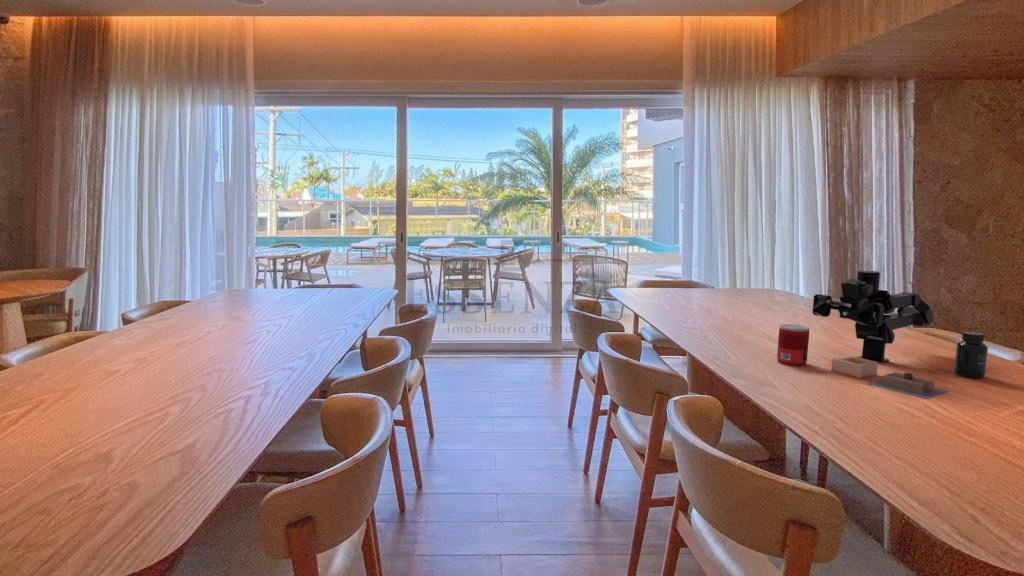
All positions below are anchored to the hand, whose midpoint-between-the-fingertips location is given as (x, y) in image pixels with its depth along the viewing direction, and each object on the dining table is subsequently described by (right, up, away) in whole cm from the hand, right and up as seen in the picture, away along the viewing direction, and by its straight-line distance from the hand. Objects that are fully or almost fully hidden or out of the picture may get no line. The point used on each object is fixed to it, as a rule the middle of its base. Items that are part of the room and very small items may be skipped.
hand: (829, 312), depth 160 cm
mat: (+13, -19, -13) cm, 26 cm away
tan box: (+6, -17, 0) cm, 18 cm away
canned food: (-5, -16, +11) cm, 20 cm away
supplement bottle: (+39, -18, 0) cm, 42 cm away
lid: (+13, -18, -13) cm, 26 cm away
